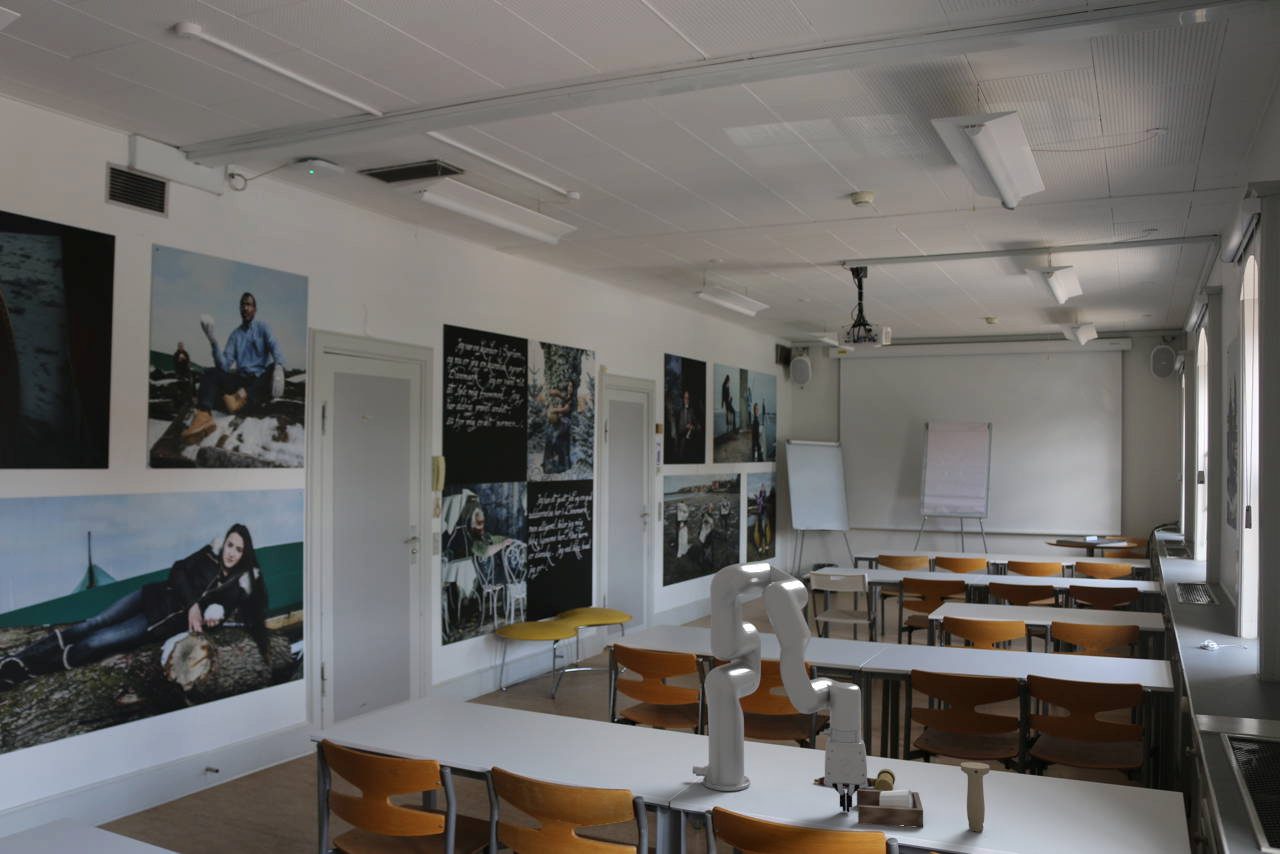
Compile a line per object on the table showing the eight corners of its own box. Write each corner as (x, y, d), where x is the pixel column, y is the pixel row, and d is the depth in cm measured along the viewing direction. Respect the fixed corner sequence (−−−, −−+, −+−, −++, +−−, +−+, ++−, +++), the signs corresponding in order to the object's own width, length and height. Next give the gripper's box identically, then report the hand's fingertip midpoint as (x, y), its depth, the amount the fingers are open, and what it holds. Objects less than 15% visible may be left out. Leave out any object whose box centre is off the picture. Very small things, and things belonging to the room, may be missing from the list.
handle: (960, 825, 237) (959, 761, 238) (989, 827, 236) (988, 763, 236) (962, 832, 232) (961, 767, 233) (991, 834, 231) (990, 769, 231)
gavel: (810, 777, 264) (816, 766, 274) (811, 795, 264) (817, 783, 273) (891, 780, 258) (894, 768, 267) (893, 798, 257) (895, 786, 267)
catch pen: (858, 823, 238) (858, 806, 239) (856, 804, 251) (856, 788, 251) (923, 827, 236) (923, 810, 236) (918, 808, 249) (918, 792, 249)
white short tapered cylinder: (886, 816, 246) (915, 818, 243) (880, 820, 240) (909, 821, 237) (884, 787, 248) (912, 788, 245) (877, 790, 242) (907, 790, 239)
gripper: (814, 737, 244) (815, 813, 243) (877, 740, 241) (877, 817, 240) (814, 729, 251) (815, 803, 251) (875, 732, 248) (876, 806, 248)
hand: (845, 809), depth 246 cm, fingers closed
